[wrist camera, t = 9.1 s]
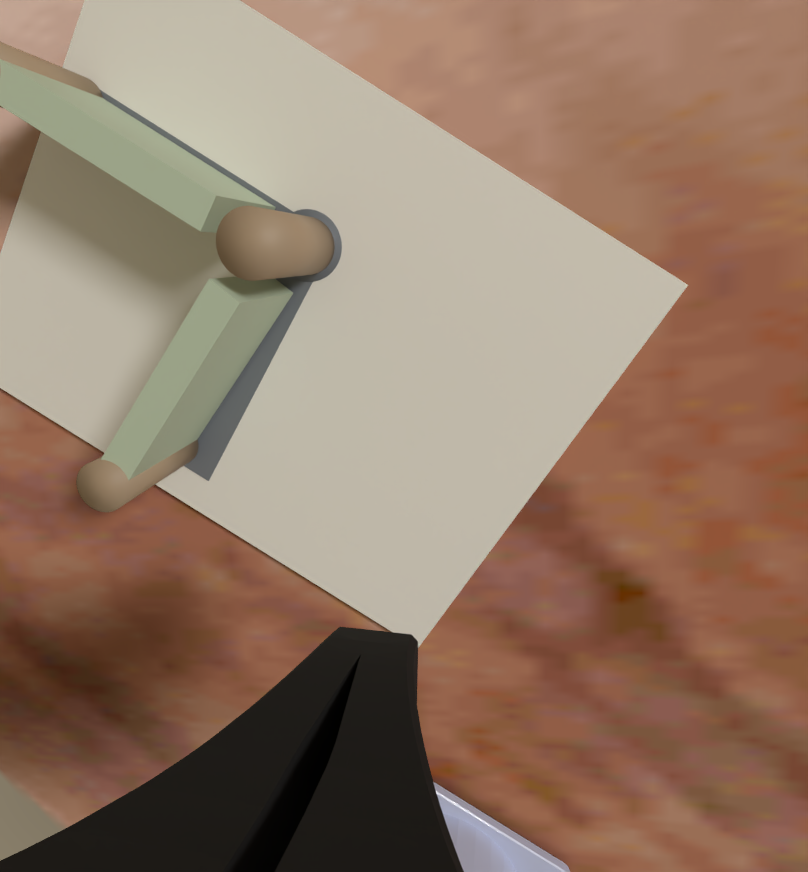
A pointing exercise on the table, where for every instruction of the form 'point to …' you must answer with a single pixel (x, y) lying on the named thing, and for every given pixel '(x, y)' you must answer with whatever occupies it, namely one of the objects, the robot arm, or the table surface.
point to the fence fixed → (163, 171)
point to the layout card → (323, 308)
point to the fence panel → (184, 390)
